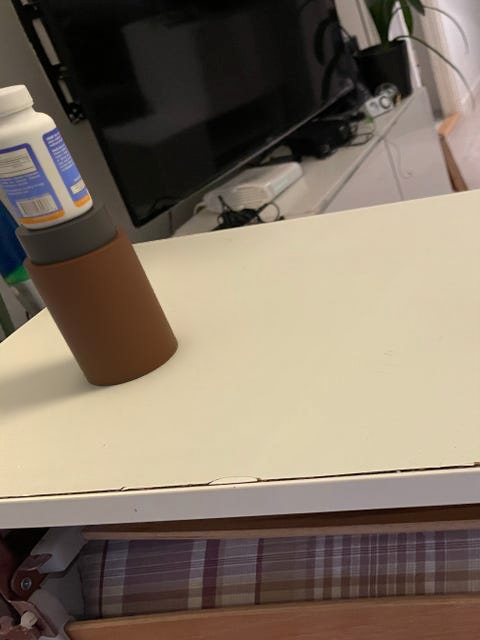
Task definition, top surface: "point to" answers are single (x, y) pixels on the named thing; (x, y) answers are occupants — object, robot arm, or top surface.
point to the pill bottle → (37, 165)
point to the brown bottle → (99, 296)
